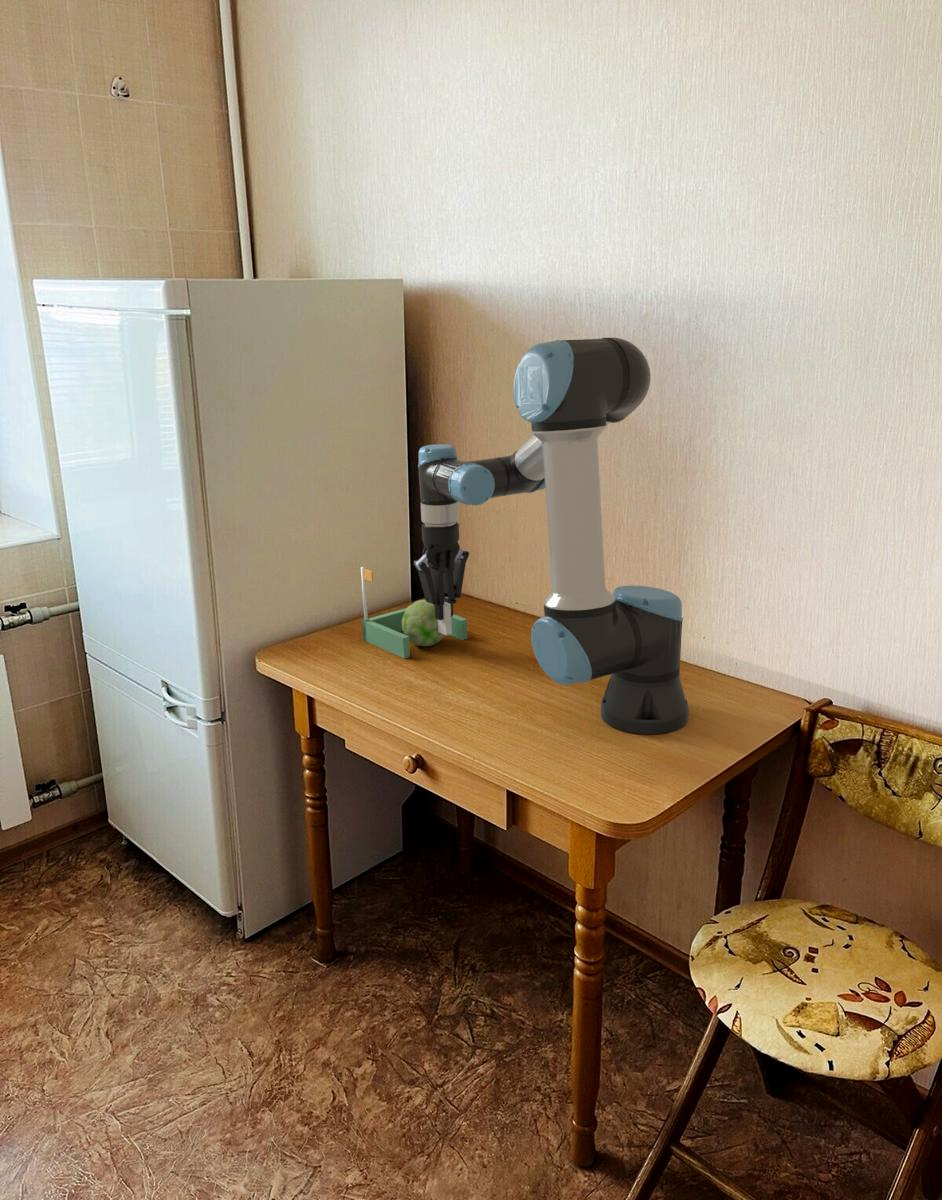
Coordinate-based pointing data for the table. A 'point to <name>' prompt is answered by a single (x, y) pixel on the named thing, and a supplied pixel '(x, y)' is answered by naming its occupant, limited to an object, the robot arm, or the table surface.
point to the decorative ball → (421, 624)
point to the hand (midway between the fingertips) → (444, 632)
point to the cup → (395, 626)
